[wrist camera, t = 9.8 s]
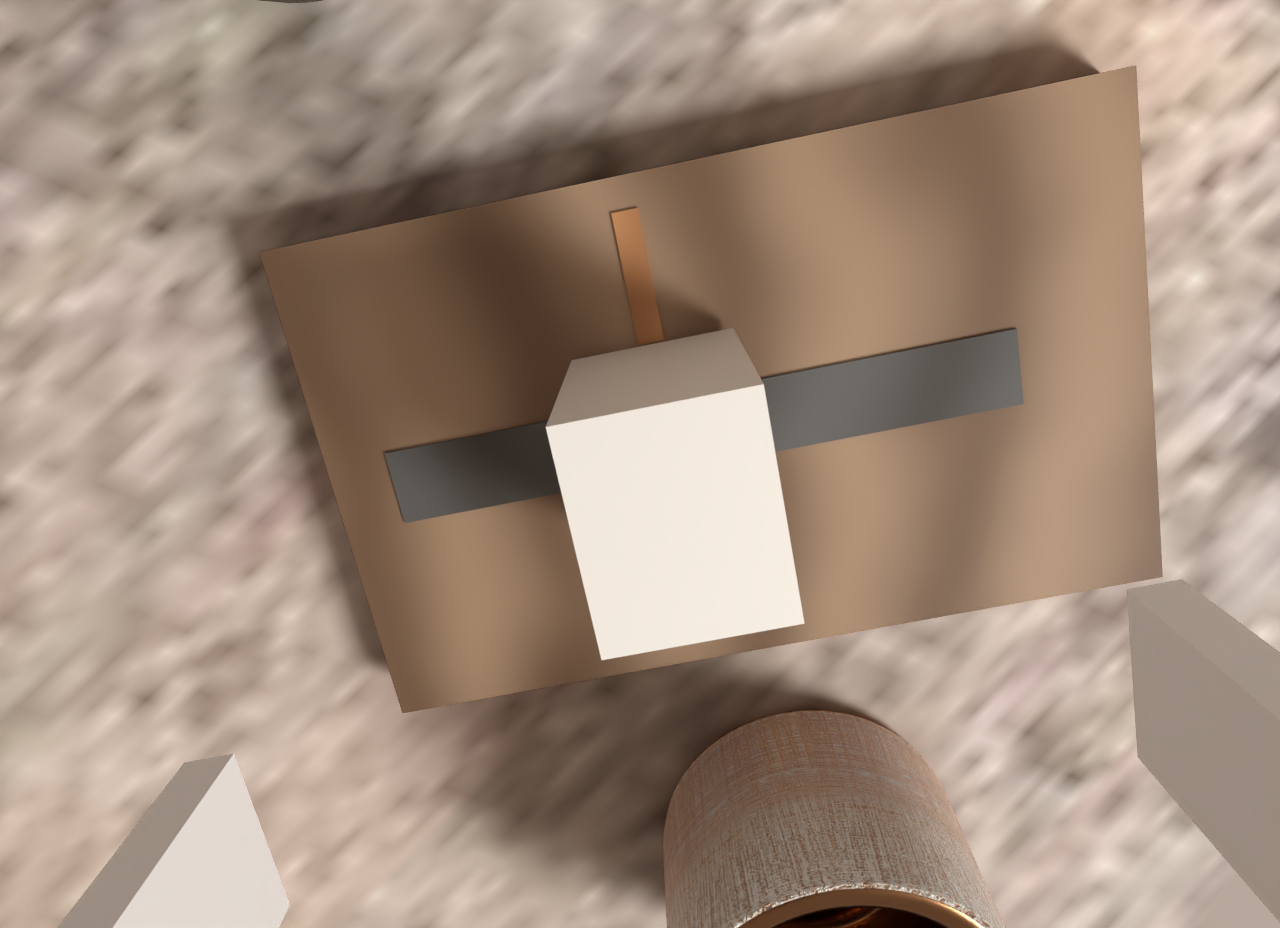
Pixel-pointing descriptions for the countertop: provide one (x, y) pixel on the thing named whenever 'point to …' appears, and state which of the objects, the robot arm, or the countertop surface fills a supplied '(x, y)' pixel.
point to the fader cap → (674, 495)
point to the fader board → (784, 359)
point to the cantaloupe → (292, 1)
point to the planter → (817, 833)
